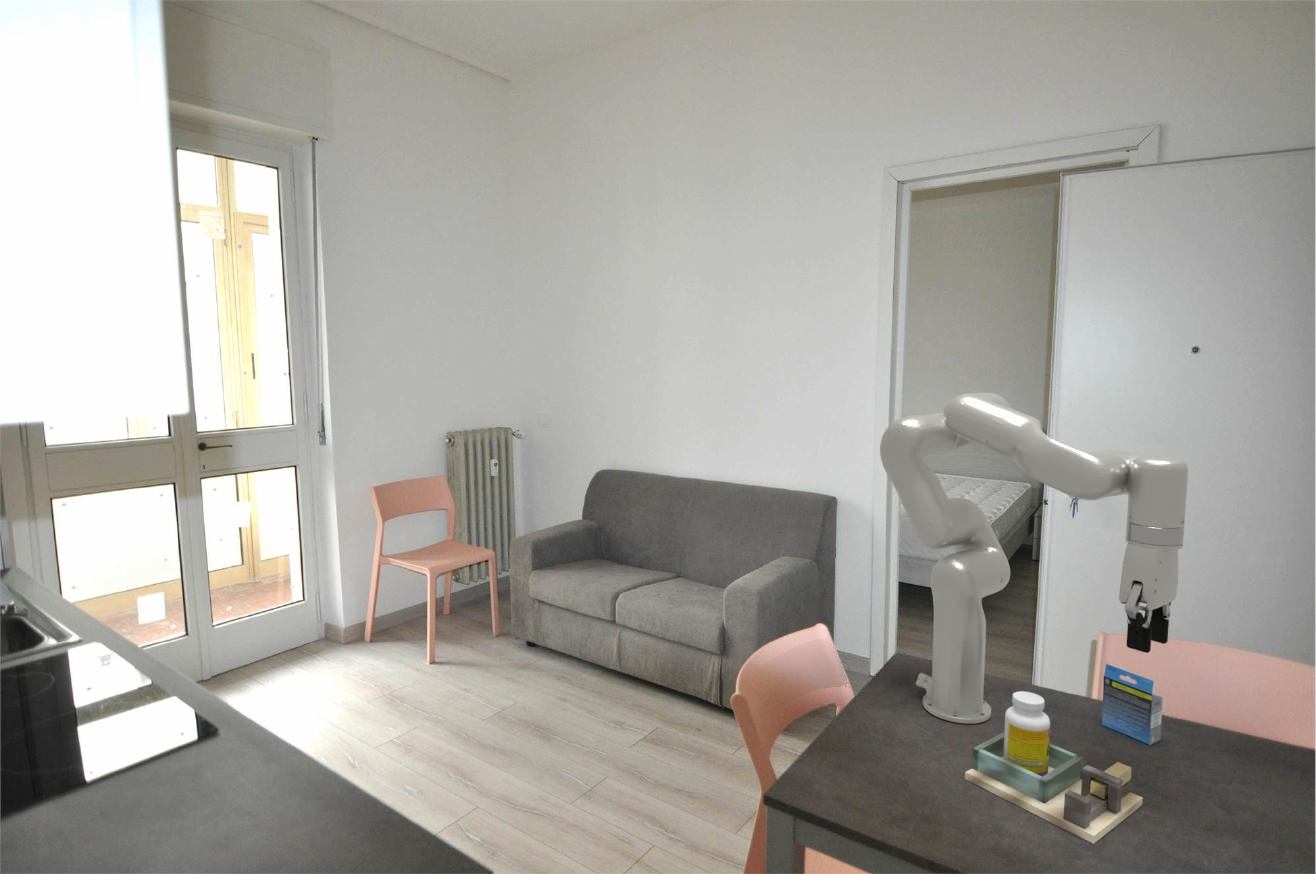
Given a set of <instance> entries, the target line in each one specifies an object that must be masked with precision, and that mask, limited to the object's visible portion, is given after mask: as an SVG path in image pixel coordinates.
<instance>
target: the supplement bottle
mask: <svg viewBox="0 0 1316 874" xmlns="http://www.w3.org/2000/svg"><path fill="white" fill-rule="evenodd" d="M1011 698H1012V699H1011V702H1012V706H1009V708H1007V710H1006V711H1005V714H1004V731H1005V732H1004V731H1003V732H1004V755H1003V759H1005V760H1007V761H1009V762H1011V763H1013V764H1016V765H1018V766H1020V767H1022V768H1024V769H1027V770H1029V771H1031V772H1033V773H1035V774H1037V775H1040V776H1042V777H1043V776H1045V775H1046V774H1048V765H1049V743H1050V738H1051V737H1050V735H1051V720H1050V717H1049V716H1048V715H1047V714H1046V713H1045V712H1044V709H1045V699H1044V697H1042V696H1041V695H1039V694H1037V693H1034V692H1030V691H1023V690H1020V691H1016V692H1013V693H1012V697H1011Z"/></svg>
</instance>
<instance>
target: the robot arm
mask: <svg viewBox="0 0 1316 874" xmlns="http://www.w3.org/2000/svg"><path fill="white" fill-rule="evenodd" d="M1042 428H1043V427H1042V423H1041V421H1040V420H1039V419H1037V418H1036V417H1034V416H1031V415H1029V414H1026V413H1025V412H1024V413H1023V412H1021V411H1019V410H1016V409H1014V408H1012V407H1011V405H1010V403H1009V402H1008V401H1007V400H1006V399H1005V398H1004V397H1003V396H1001V395H999V394H997V393H993V392H987V391H986V392H967V393H960V394H958V395H956V396H954V397H953V398H951V399H950V400H949V401H948V403H946V405H945V407H944V409H943V411H942V412H938V413H928V414H927V413H926V414H914V415H913V414H912V415H907V416H903V417H900V418H898V419H896V420H894V421H893V422H891V423H890V424H889V425H888V426H887V427H886V429H884V432H883V434H882V436H881V440H880V446H879V456H880V461H881V464H882V467H883V470H884V471H885V473H886V475H887V476H888V478H889V480H890V481H891V483H892V486H893V488H894V489H895V491H896V493H897V495H898V498H899V500H900V501H901V504H902V506H903V509H904V511H905V513H906V515H907V517H908V520H909V522H910V524H911V526H912V528H913V531H914V532H915V534H916V536H917V538H918V539H919V542H921V544H922V546H925V547H926V548H927V549H930V550H945V549H949V548H952V547H953V549H954V553H950V554H947V555H945V556H944V557H941V558H940V559H939V560H938V561H937V562H936V563H935V564H934V566H933V567H932V570H931V573H930V587H931V595H932V601H933V641H932V663H931V665H932V667H931V669H932V670H931V671H932V672H931V676H930V675H928V674H925V673H922V672H920V673H918V676H917V680H916V682H915V685H916V686H917V687H919V688H922V689H924V690H925V691H926V694H924V696H923V697H922V705H923V708H925V710H926V711H928V713H930V714H931V715H932V716H935V717H936V718H939V719H942V720H945V721H949V722H952V723H958V724H964V725H965V724H968V725H970V724H972V725H973V724H980V723H983V722H986V721H988V720H989V719H990V718H991V716H992V707H991V705H990V704H989V703H988V702H987V701H986V700H984V687H985V665H986V643H987V641H986V640H987V621H986V616H985V612H984V609H983V605H982V601H983V600H982V598H985V597H987V596H990V595H994V594H995V593H997V592H1000V591H1002V590H1003V589H1004V588H1005V587H1006V586H1007V585H1008V583H1009V582H1010V578H1011V567H1010V564H1009V561H1008V558H1007V556H1006V554H1005V551H1004V550H1003V547H1002V545H1001V543H1000V542H999V539H998V538H997V535H996V533H995V532H994V530H993V528H992V526H991V523H990V522H989V520H988V518H987V516H986V514H985V513H984V512H983V510H982V509H981V508H980V507H979V506H978V505H977V504H976V503H975V502H974V501H972V500H970V499H967V498H964V497H952V498H949V497H948V495H947V493H946V491H945V489H944V487H943V486H942V483H941V482H940V481H941V480H939V477H938V476H937V474H936V473H935V472H934V471H933V469H932V468H931V467H930V466H929V465H928V464H927V463H926V462H925V460H923V459H924V457H925V456H934V455H942V454H946V453H947V454H948V453H951V452H954V451H957V450H961V449H962V448H964V447H968V446H970V445H973V444H976V445H977V446H980V447H983V448H984V449H986V450H989V451H990V452H993V453H996V454H997V455H1000V456H1002V457H1004V458H1006V459H1009V460H1010V461H1012V462H1014V463H1015V465H1016V466H1017V467H1019V468H1020V469H1021V470H1022V471H1023V472H1024V473H1026V474H1027V475H1028V476H1030V477H1031V478H1033V479H1034V480H1036V481H1038V482H1040V483H1042V484H1044V485H1046V486H1048V487H1049V488H1053V489H1055V490H1056V491H1059V492H1061V493H1063V494H1065V495H1068V496H1070V497H1073V498H1075V499H1079V500H1084V501H1097V500H1103V499H1106V498H1110V497H1116V496H1122V495H1125V496H1126V495H1128V497H1127V499H1128V500H1127V513H1126V527H1125V529H1126V531H1125V542H1126V543H1127V545H1126V548H1125V552H1124V556H1123V561H1122V568H1121V576H1120V585H1119V593H1118V594H1119V595H1118V600H1119V602H1120V604H1123V605H1124V611H1125V613H1126V616H1127V619H1126V624H1127V630H1126V647H1127V648H1129V649H1132V650H1136V651H1139V652H1142V653H1146V654H1147V653H1149V652H1151V649H1152V647H1151V646H1152V642H1156V643H1160V644H1162V645H1163V644H1164V645H1165V644H1167V643H1168V639H1169V624H1170V617H1171V610H1170V608H1171V607H1170V606H1172V602H1173V601H1174V600H1175V599H1176V597H1177V592H1178V582H1179V550H1181V549H1183V547H1184V536H1185V535H1184V533H1185V519H1186V518H1185V517H1186V507H1187V506H1186V505H1187V493H1188V482H1189V480H1188V479H1189V468H1188V467H1189V466H1188V465H1187V463H1186V462H1185V461H1184V460H1182V459H1180V458H1178V457H1170V456H1161V455H1160V456H1159V455H1145V456H1144V455H1139V454H1135V453H1130V452H1125V451H1121V450H1113V449H1112V450H1111V449H1110V450H1103V451H1101V450H1100V451H1095V452H1089V453H1088V452H1086V451H1085V452H1084V451H1082V450H1080V449H1077V448H1075V447H1071V446H1069V445H1067V444H1064V443H1062V442H1060V441H1057V440H1056V439H1053V438H1051V437H1050V436H1049V435H1047V434H1046V433H1045V432H1043V429H1042ZM1141 603H1142V604H1145V606H1142V605H1140V604H1141ZM1139 611H1143V612H1144V615H1143V613H1142V612H1139Z"/></svg>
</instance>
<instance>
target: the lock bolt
mask: <svg viewBox="0 0 1316 874" xmlns="http://www.w3.org/2000/svg"><path fill="white" fill-rule="evenodd" d="M1103 772H1105V773H1108V774H1110V775H1113V776H1115V777H1117V778H1120V779H1122V780H1123V783H1122V786H1123V785H1124V784H1126V783H1127V782H1130V781H1131V780H1132V767H1131V766H1129V765H1126V764H1123V763H1121V762H1119V761H1117V762H1116V763H1114V764H1112V765H1111V766H1110V767H1108V768H1107V769H1105V770H1104V771H1103ZM1108 790H1109V785H1108V784H1106V783H1104V782H1102V781H1099V780H1097V779H1095V778H1094V779H1092V780H1091V787H1090V793H1091V794H1094V795H1096V796H1098V797H1100V798H1103V799H1105V798H1107V797H1108Z"/></svg>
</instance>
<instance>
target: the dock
mask: <svg viewBox="0 0 1316 874" xmlns="http://www.w3.org/2000/svg"><path fill="white" fill-rule="evenodd" d="M1004 732H1005V730H1004V731H1003V732H1001V733H999V734H997V735H995V736H993V737H992V738H990V739H987V740H986V741H983V742H982V743H980V744H979V745H976V746H975V747H973V748H972V765H971V768H970V769H969V770H966V771H965V773H964V780H966V781H968V782H970V783H972V784H974V785H976V786H978V787H979V788H982V789H984V790H985V791H987V792H989V793H992V794H994V795H996V796H998V797H999V798H1002V799H1003V800H1005V801H1007V802H1010V803H1012V804H1014V805H1015V806H1018V807H1020V808H1021V809H1023V810H1026V811H1027V812H1030V813H1031V814H1033V815H1035V816H1038V817H1039V818H1041V819H1043V820H1045V821H1047V822H1050V823H1051V824H1053V825H1055V826H1057V827H1058V828H1061V829H1063V830H1065V831H1067V832H1069V833H1071V834H1073V835H1075V836H1077V837H1079V838H1081V839H1082V840H1085V841H1087V842H1089V843H1091V844H1093V845H1094V844H1095V843H1097V842H1098V841H1100V840H1101V839H1102V838H1103V837H1104V836H1105V835H1107V834H1108V833H1109V832H1111V831H1112V830H1113V829H1115V828H1116V827H1117V826H1118V825H1119V824H1121V822H1123V821H1124V820H1125V819H1127V818H1128V817H1130V815H1132V814H1133V813H1134V812H1136V811H1137V810H1138V809H1139V808H1141V807H1142V806H1143V800H1144V797H1142V796H1140V795H1138V794H1136V793H1134V792H1131V784H1132V783H1131V782H1130V781H1128V782H1127V783H1126V784H1124V785H1123V786H1122V783H1123V780H1122V779H1120V778H1117V777H1115V776H1113V775H1110V774H1108V773H1105V772H1104V771H1103V770H1100V769H1098V768H1096V767H1093V766H1091V765H1089V764H1087V765H1085V766H1084V759H1085V758H1084V757H1083V756H1080V755H1079V754H1076V753H1073V752H1072V751H1069V750H1066V749H1064V748H1062V747H1059V746H1057V745H1055V744H1052V743H1051V742H1049V765H1048V774H1046V775H1045V776H1043V777H1042V776H1040V775H1037V774H1035V773H1033V772H1031V771H1029V770H1027V769H1024V768H1022V767H1020V766H1018V765H1016V764H1013V763H1011V762H1009V761H1007V760H1005V759H1003V755H1004ZM1094 778H1095V779H1097V780H1099V781H1102V782H1104V783H1106V784H1108V785H1109V790H1108V797H1107V798H1105V799H1103V798H1100V797H1098V796H1096V795H1094V794H1091V793H1090V787H1091V780H1092V779H1094Z"/></svg>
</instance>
